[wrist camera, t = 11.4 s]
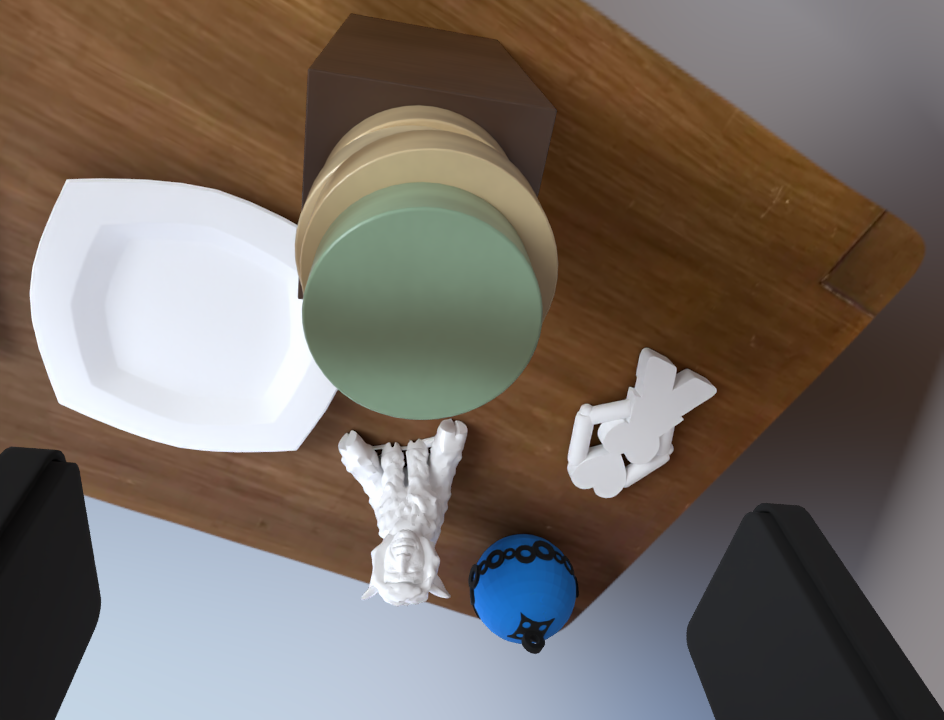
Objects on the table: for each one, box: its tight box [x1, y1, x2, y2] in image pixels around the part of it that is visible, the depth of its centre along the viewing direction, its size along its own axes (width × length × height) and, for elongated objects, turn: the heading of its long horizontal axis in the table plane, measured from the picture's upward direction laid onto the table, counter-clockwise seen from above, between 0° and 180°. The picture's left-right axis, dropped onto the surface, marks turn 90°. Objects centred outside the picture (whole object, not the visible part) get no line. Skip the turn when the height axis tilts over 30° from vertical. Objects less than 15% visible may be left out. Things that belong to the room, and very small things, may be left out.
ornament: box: [469, 534, 579, 654], centre depth 54 cm, size 9×9×10 cm
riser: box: [298, 14, 557, 299], centre depth 32 cm, size 8×8×18 cm
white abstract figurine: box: [567, 348, 717, 498], centre depth 52 cm, size 9×12×2 cm
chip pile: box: [295, 105, 558, 322], centre depth 21 cm, size 7×7×6 cm
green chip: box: [302, 182, 543, 420], centre depth 18 cm, size 6×6×2 cm
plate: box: [30, 178, 338, 452], centre depth 44 cm, size 19×19×2 cm
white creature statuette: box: [338, 419, 468, 606], centre depth 48 cm, size 10×9×12 cm
